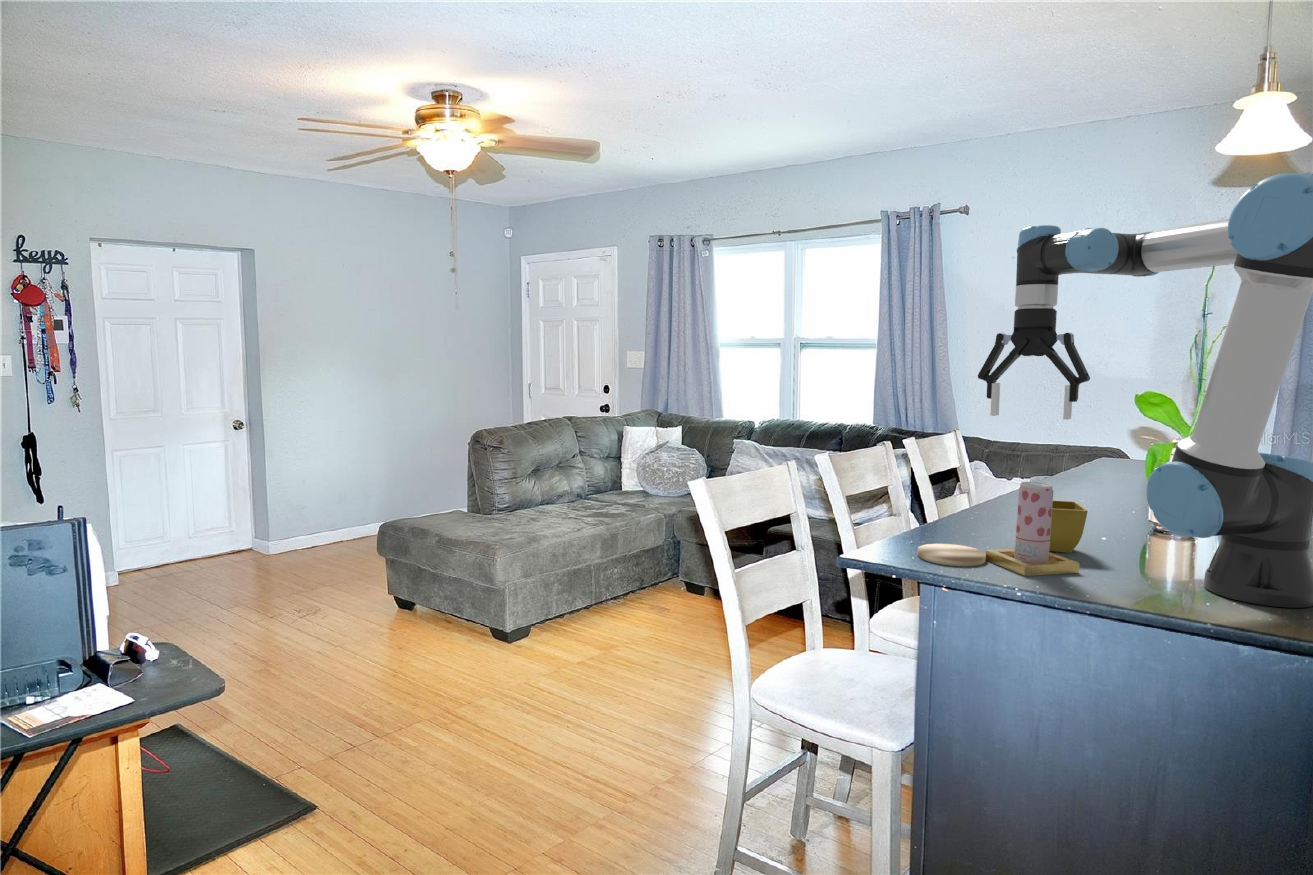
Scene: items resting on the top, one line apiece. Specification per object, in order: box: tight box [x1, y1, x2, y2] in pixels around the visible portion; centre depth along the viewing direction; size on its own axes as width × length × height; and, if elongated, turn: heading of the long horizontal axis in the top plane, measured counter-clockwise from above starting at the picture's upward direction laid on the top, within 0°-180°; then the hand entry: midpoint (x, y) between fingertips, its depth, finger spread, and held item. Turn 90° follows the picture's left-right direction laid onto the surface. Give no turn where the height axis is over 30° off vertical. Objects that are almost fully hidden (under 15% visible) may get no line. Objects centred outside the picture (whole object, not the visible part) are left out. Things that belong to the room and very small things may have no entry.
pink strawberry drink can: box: [1014, 481, 1054, 563], centre depth 153 cm, size 6×6×15 cm
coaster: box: [917, 543, 987, 567], centre depth 159 cm, size 12×12×1 cm
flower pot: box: [1049, 499, 1088, 553], centre depth 166 cm, size 9×9×9 cm
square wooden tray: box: [985, 548, 1080, 577], centre depth 153 cm, size 11×11×2 cm
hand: (1029, 417), depth 167 cm, fingers open, 13 cm apart
